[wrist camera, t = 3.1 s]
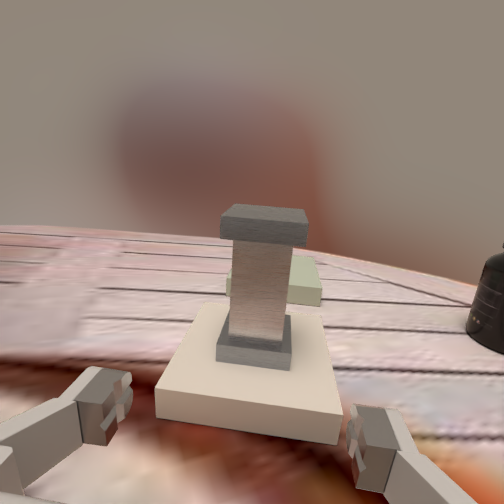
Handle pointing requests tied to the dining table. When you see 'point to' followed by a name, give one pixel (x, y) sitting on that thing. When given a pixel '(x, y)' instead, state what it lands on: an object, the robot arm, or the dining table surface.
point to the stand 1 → (298, 282)
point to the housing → (260, 284)
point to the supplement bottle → (489, 306)
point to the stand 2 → (253, 384)
